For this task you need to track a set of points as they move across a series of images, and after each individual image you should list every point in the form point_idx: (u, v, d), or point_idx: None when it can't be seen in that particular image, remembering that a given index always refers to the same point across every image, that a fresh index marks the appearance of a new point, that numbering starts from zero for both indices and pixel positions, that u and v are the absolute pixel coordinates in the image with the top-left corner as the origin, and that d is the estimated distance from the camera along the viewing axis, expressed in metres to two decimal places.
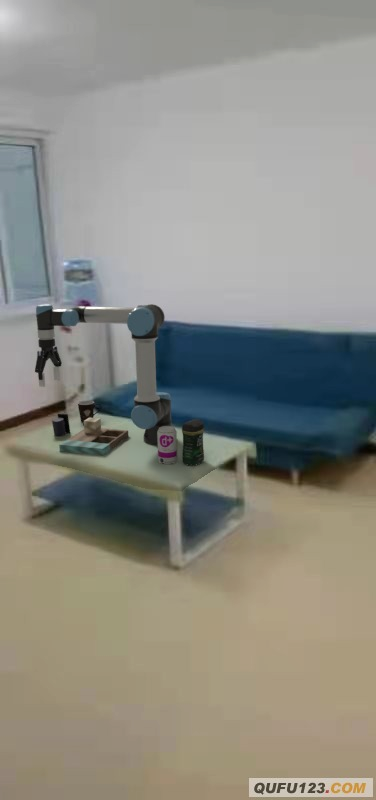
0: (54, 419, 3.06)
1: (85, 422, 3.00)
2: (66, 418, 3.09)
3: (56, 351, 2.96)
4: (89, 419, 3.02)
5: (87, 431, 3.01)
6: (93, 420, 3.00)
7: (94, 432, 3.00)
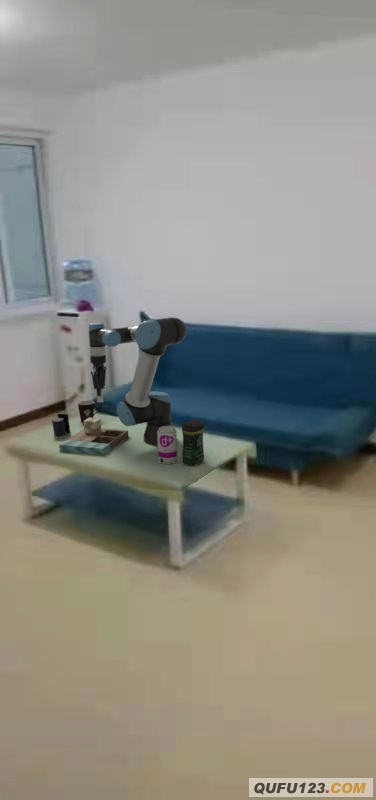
0: (54, 419, 3.06)
1: (85, 422, 3.00)
2: (66, 418, 3.09)
3: (104, 370, 3.10)
4: (89, 419, 3.02)
5: (87, 431, 3.01)
6: (93, 420, 3.00)
7: (94, 432, 3.00)
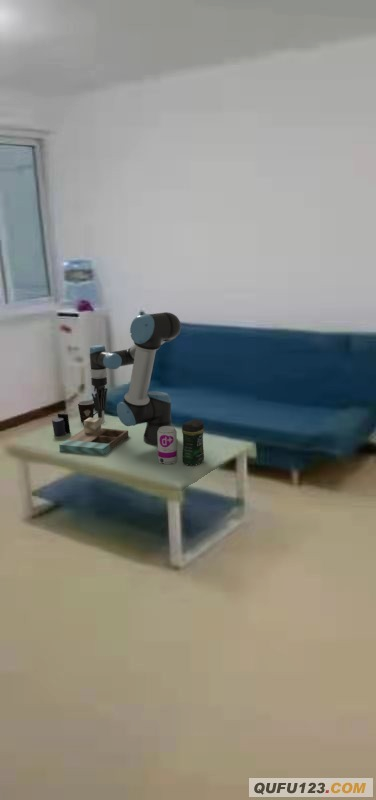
0: (54, 419, 3.06)
1: (85, 422, 3.00)
2: (66, 418, 3.09)
3: (106, 392, 3.12)
4: (89, 419, 3.02)
5: (87, 431, 3.01)
6: (93, 420, 3.00)
7: (94, 432, 3.00)
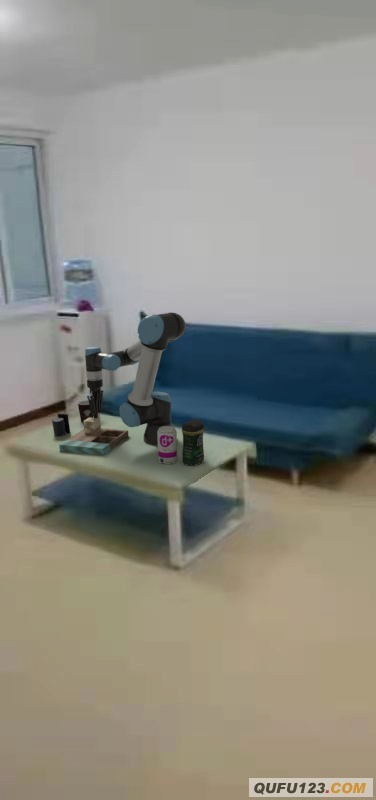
0: (54, 419, 3.06)
1: (85, 422, 3.00)
2: (66, 418, 3.09)
3: (101, 394, 3.08)
4: (89, 419, 3.02)
5: (87, 431, 3.01)
6: (93, 420, 3.00)
7: (94, 432, 3.00)
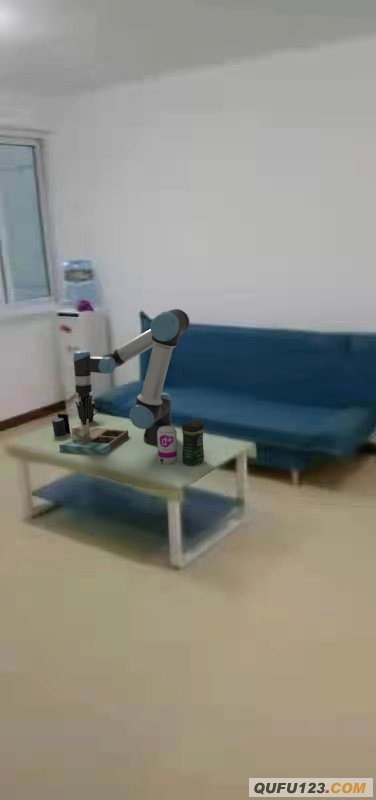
0: (54, 419, 3.06)
1: (73, 429, 2.90)
2: (66, 418, 3.09)
3: (91, 399, 2.97)
4: (77, 426, 2.92)
5: (75, 438, 2.91)
6: (81, 427, 2.89)
7: (82, 439, 2.89)
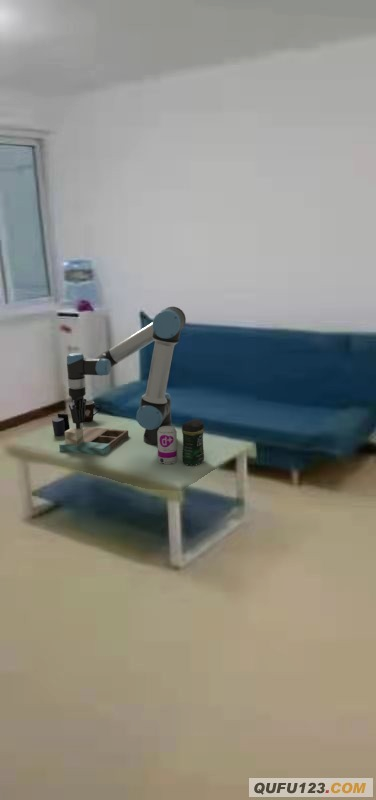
0: (54, 419, 3.06)
1: (66, 433, 2.84)
2: (66, 418, 3.09)
3: (84, 403, 2.91)
4: (70, 430, 2.86)
5: (68, 442, 2.85)
6: (75, 431, 2.83)
7: (75, 444, 2.83)
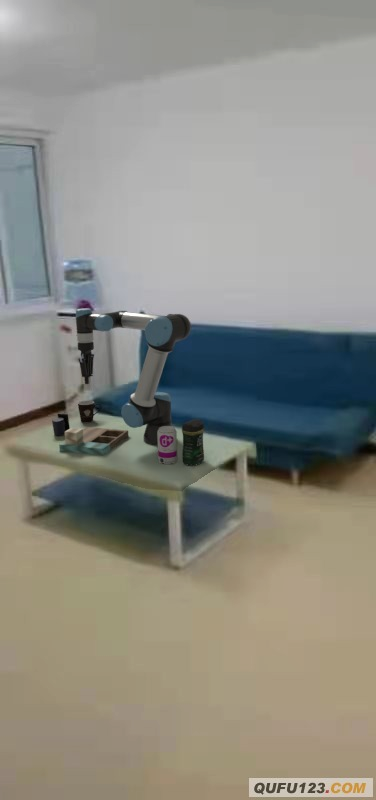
0: (54, 419, 3.06)
1: (66, 433, 2.84)
2: (66, 418, 3.09)
3: (92, 358, 3.02)
4: (70, 430, 2.86)
5: (68, 442, 2.85)
6: (75, 431, 2.83)
7: (75, 444, 2.83)
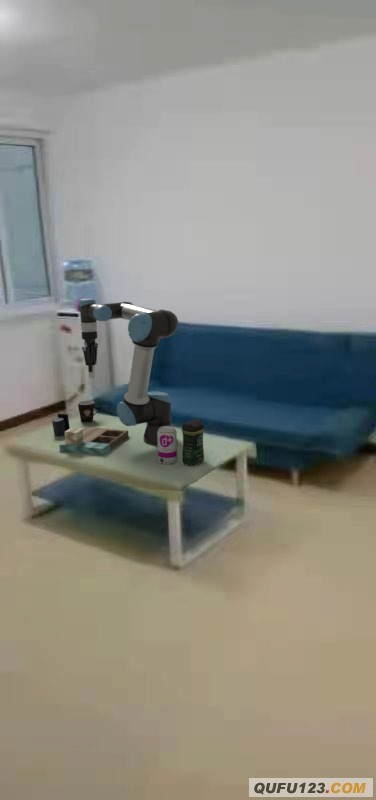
0: (54, 419, 3.06)
1: (66, 433, 2.84)
2: (66, 418, 3.09)
3: (96, 347, 3.11)
4: (70, 430, 2.86)
5: (68, 442, 2.85)
6: (75, 431, 2.83)
7: (75, 444, 2.83)
